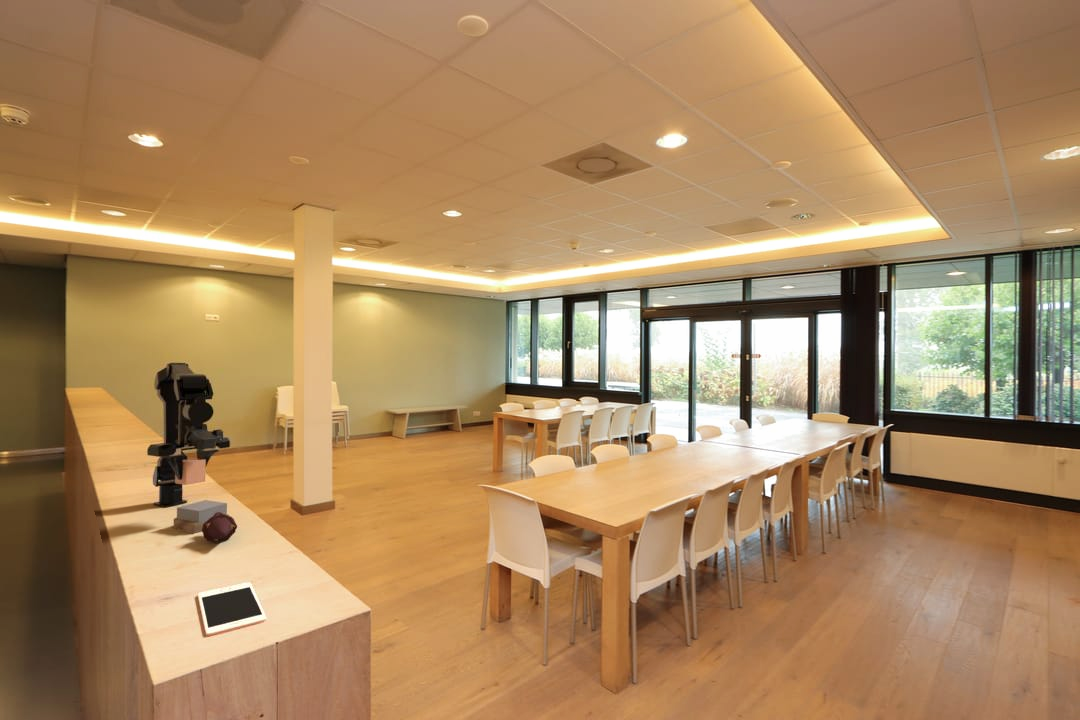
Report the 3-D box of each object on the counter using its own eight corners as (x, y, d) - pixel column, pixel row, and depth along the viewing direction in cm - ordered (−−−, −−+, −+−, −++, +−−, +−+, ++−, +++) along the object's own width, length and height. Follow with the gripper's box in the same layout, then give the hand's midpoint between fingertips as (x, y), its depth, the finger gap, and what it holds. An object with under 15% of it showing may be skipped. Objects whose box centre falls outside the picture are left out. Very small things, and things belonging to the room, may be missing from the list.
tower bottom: (173, 530, 136) (173, 518, 136) (208, 520, 144) (208, 510, 144) (194, 535, 132) (194, 524, 132) (228, 525, 140) (228, 514, 140)
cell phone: (250, 586, 103) (250, 581, 103) (266, 623, 89) (267, 618, 89) (197, 597, 98) (197, 592, 98) (206, 639, 84) (206, 633, 84)
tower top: (176, 518, 135) (176, 507, 135) (205, 510, 143) (205, 499, 143) (198, 522, 133) (199, 511, 133) (226, 514, 140) (227, 503, 140)
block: (175, 483, 139) (175, 461, 140) (194, 479, 144) (194, 458, 144) (186, 485, 137) (186, 462, 137) (205, 481, 142) (205, 459, 142)
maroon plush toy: (245, 519, 124) (235, 510, 135) (209, 517, 119) (203, 507, 131) (236, 550, 122) (227, 537, 134) (200, 548, 118) (194, 535, 130)
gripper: (171, 425, 129) (170, 487, 129) (242, 419, 146) (242, 474, 145) (146, 423, 134) (145, 483, 134) (218, 417, 151) (217, 470, 150)
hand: (190, 477), depth 141 cm, fingers closed on block, 5 cm apart
